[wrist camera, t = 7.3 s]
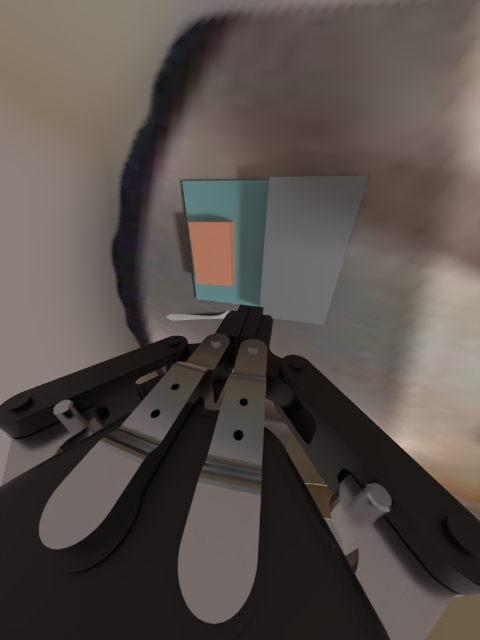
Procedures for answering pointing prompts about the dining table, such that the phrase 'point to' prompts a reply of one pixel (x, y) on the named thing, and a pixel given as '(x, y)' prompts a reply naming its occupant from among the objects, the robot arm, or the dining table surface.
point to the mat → (249, 231)
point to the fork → (194, 316)
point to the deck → (307, 243)
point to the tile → (213, 252)
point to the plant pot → (310, 477)
